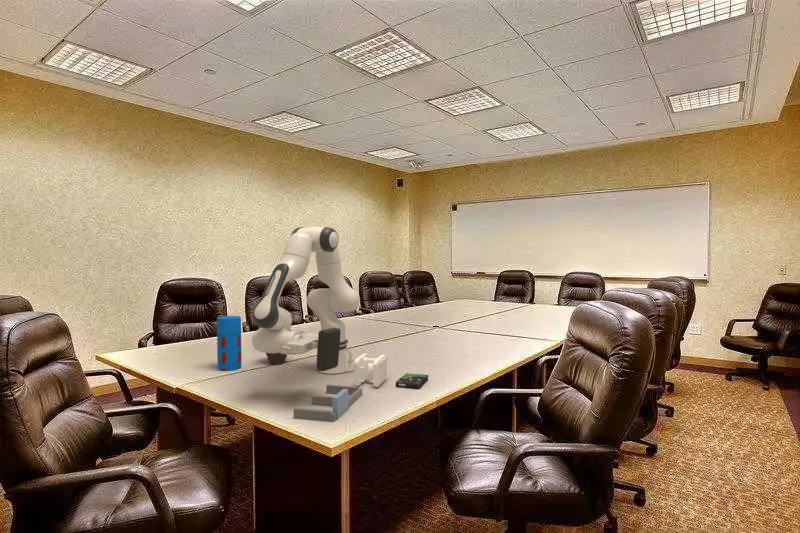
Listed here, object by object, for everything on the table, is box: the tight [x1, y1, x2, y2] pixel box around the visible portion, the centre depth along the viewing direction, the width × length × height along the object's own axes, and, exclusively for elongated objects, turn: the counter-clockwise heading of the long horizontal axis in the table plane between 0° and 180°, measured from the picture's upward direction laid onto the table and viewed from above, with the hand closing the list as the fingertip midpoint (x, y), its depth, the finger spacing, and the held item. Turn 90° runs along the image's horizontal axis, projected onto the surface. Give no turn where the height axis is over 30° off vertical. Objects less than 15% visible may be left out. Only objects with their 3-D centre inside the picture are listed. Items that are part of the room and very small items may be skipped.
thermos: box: [216, 315, 243, 372], centre depth 210 cm, size 11×11×25 cm
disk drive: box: [395, 372, 429, 390], centre depth 184 cm, size 10×3×15 cm
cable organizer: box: [353, 352, 389, 388], centre depth 184 cm, size 15×11×12 cm
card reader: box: [315, 328, 341, 372], centre depth 161 cm, size 9×4×15 cm, turn 149°
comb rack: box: [293, 384, 363, 423], centre depth 157 cm, size 28×15×7 cm, turn 166°
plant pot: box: [265, 329, 292, 366], centre depth 220 cm, size 15×15×16 cm
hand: (326, 344), depth 162 cm, fingers closed on card reader
